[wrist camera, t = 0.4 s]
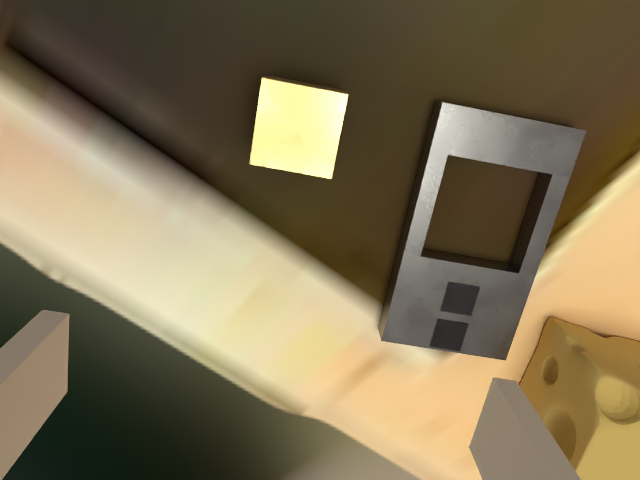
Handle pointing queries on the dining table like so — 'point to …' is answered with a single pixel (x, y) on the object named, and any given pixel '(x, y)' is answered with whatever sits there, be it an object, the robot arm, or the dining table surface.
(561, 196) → the metal plate
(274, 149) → the yellow cube
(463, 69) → the dining table surface
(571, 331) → the cheese
